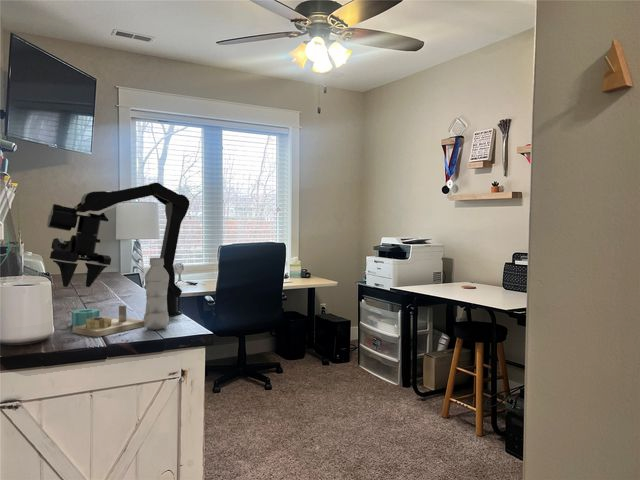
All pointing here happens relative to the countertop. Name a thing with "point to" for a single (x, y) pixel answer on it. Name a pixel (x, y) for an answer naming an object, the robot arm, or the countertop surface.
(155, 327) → the plastic bottle
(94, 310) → the teal gear
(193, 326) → the countertop surface
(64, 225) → the robot arm
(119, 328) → the gear board
